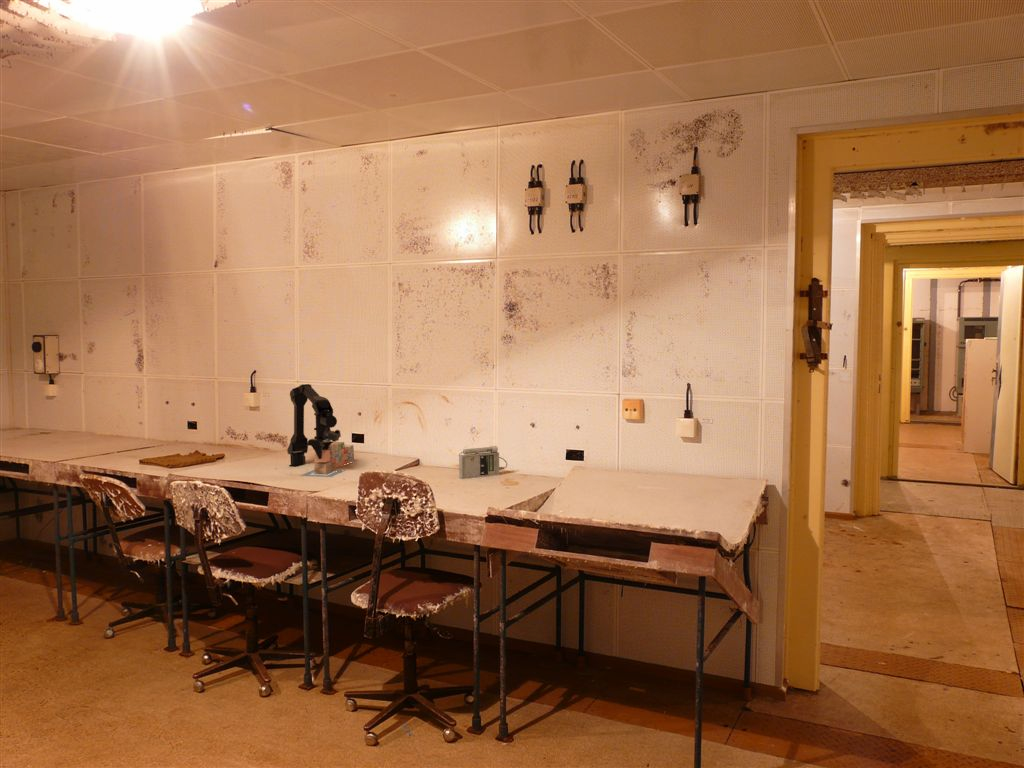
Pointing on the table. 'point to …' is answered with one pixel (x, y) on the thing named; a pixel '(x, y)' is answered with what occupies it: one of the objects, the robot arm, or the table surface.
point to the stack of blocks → (341, 454)
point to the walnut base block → (323, 467)
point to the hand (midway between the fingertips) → (322, 457)
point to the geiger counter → (479, 462)
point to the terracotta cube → (323, 456)
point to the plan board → (333, 473)
